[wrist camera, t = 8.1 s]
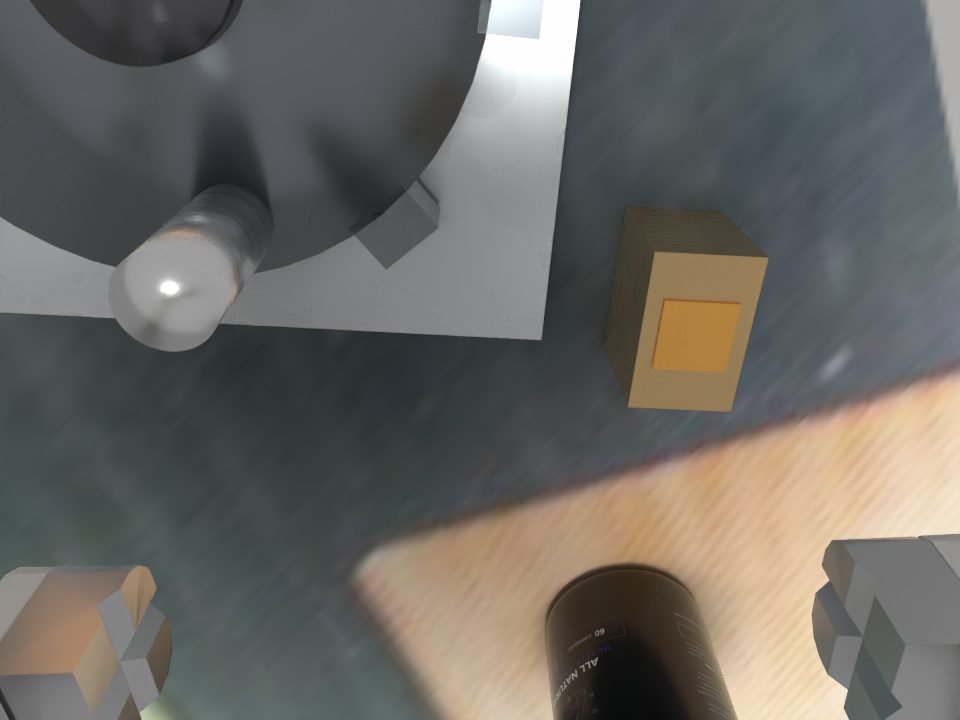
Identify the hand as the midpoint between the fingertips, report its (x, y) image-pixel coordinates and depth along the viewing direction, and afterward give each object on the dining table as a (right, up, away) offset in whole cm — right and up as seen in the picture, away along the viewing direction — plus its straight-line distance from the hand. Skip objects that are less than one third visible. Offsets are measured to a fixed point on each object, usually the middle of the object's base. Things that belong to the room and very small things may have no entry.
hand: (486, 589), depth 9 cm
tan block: (+6, +6, +17) cm, 19 cm away
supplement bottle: (+6, -9, +25) cm, 27 cm away
